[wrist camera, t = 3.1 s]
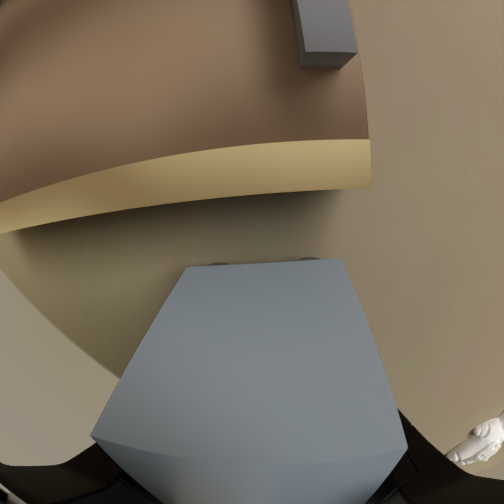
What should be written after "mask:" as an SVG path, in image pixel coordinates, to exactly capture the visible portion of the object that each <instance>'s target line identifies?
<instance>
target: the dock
mask: <svg viewBox="0 0 504 504" xmlns="http://www.w3.org/2000/svg"><path fill="white" fill-rule="evenodd" d="M363 188H371V151H370V140H369V136H368V122H367V110H366V100H365V90H364V82H363V74H362V67H361V60H360V54H359V48H358V42H357V37H356V31H355V26H354V21H353V17H352V12H351V8H350V3H349V0H0V234H1V233H5V232H9V231H14V230H18V229H22V228H27V227H32V226H36V225H41V224H46V223H51V222H56V221H61V220H67V219H72V218H77V217H83V216H89V215H95V214H100V213H107V212H113V211H119V210H126V209H132V208H139V207H146V206H154V205H161V204H169V203H177V202H185V201H194V200H202V199H212V198H222V197H232V196H243V195H254V194H267V193H280V192H296V191H313V190H334V189H363Z"/></svg>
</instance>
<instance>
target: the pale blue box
mask: <svg viewBox="0 0 504 504" xmlns="http://www.w3.org/2000/svg"><path fill="white" fill-rule="evenodd" d="M90 436H91V437H92V438H93V439H94V440H95V441H96V442H97V443H98V445H99V446H100V447H101V448H102V449H103V450H104V451H105V452H106V453H107V454H108V455H109V456H110V457H111V458H112V459H113V460H114V461H115V462H116V463H117V464H118V465H119V466H120V467H121V468H122V469H123V470H124V471H126V472H127V473H128V474H129V475H130V476H131V477H132V478H133V479H134V480H136V481H137V482H138V483H139V484H140V485H141V486H143V487H144V488H145V489H146V490H147V491H149V492H150V493H151V494H152V495H153V496H155V497H156V498H157V499H159V500H160V501H161V502H162V503H164V504H365V503H366V502H367V500H368V499H369V498H370V497H371V496H372V495H373V494H374V492H375V491H376V490H377V489H378V488H379V486H380V485H381V484H382V483H383V481H384V480H385V479H386V478H387V476H388V475H389V474H390V472H391V471H392V470H393V468H394V467H395V466H396V464H397V463H398V462H399V460H400V459H401V457H402V456H403V455H404V453H405V452H406V450H407V449H408V446H407V442H406V438H405V434H404V431H403V427H402V424H401V420H400V417H399V413H398V410H397V407H396V403H395V400H394V397H393V394H392V391H391V387H390V384H389V381H388V378H387V375H386V372H385V369H384V366H383V363H382V361H381V358H380V355H379V352H378V349H377V347H376V344H375V341H374V338H373V336H372V333H371V330H370V328H369V325H368V322H367V320H366V317H365V315H364V312H363V310H362V307H361V305H360V302H359V300H358V297H357V295H356V292H355V290H354V287H353V285H352V283H351V280H350V278H349V276H348V273H347V271H346V269H345V266H344V264H343V262H342V259H341V258H335V259H319V258H315V257H307V258H302V259H299V260H297V261H288V262H271V263H254V264H236V265H231V264H227V263H213V264H210V265H208V266H199V267H187V268H186V269H185V271H184V272H183V274H182V275H181V277H180V279H179V280H178V282H177V283H176V285H175V287H174V288H173V290H172V291H171V293H170V295H169V296H168V298H167V300H166V301H165V303H164V305H163V306H162V308H161V309H160V311H159V313H158V314H157V316H156V318H155V319H154V321H153V323H152V324H151V326H150V328H149V330H148V331H147V333H146V335H145V336H144V338H143V340H142V341H141V343H140V345H139V347H138V348H137V350H136V352H135V354H134V355H133V357H132V359H131V361H130V362H129V364H128V366H127V368H126V369H125V371H124V373H123V375H122V377H121V378H120V380H119V382H118V384H117V386H116V388H115V389H114V391H113V393H112V395H111V397H110V399H109V401H108V402H107V404H106V406H105V408H104V410H103V412H102V414H101V416H100V418H99V419H98V421H97V423H96V425H95V427H94V429H93V431H92V433H91V435H90Z"/></svg>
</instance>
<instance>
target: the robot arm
mask: <svg viewBox="0 0 504 504" xmlns="http://www.w3.org/2000/svg"><path fill="white" fill-rule="evenodd" d="M397 410H398V408H397ZM398 413H399V417H400V420H401V424H402V427H403V431H404V434H405V438H406V442H407V446H408V449H407V450H406V452H405V453H404V455H403V456H402V457H401V459H400V460H399V462H398V463H397V464H396V466H395V467H394V468H393V470H392V471H391V472H390V474H389V475H388V476H387V478H386V479H385V480H384V481H383V483H382V484H381V485H380V486H379V488H378V489H377V490H376V491H375V492H374V494H373V495H372V496H371V497H370V498H369V499H368V500H367V502H366V503H365V504H504V480H499V479H492V478H486V477H480V476H475V475H472V474H469V473H467V472H465V471H464V470H462V469H461V468H459V467H458V466H457V465H456V464H454V463H453V462H452V461H451V460H450V459H448V458H447V457H446V456H445V455H443V454H442V453H441V452H440V451H439V450H437V449H436V448H435V447H434V446H433V445H432V444H431V443H430V442H428V441H427V440H426V439H425V438H424V437H423V436H422V434H421V433H420V432H419V431H418V430H417V429H416V428H415V427H414V426H413V425H412V426H411V423H410V422H409V420H408V419H407V418H406V417H405V416H404V415H403V414H402V413H401V412H400V411H399V410H398ZM0 483H1V484H2V485H3V486H4V487H6V488H7V489H8V490H9V491H10V493H7V492H6V491H5V490H3V489H2V488H0V504H164V503H162V502H161V501H160V500H159V499H157V498H156V497H155V496H153V495H152V494H151V493H150V492H149V491H147V490H146V489H145V488H144V487H143V486H141V485H140V484H139V483H138V482H137V481H136V480H134V479H133V478H132V477H131V476H130V475H129V474H128V473H127V472H126V471H124V470H123V469H122V468H121V467H120V466H119V465H118V464H117V463H116V462H115V461H114V460H113V459H112V458H111V457H110V456H109V455H108V454H107V453H106V452H105V451H104V450H103V449H102V448H101V447H100V446H99V445H98V443H97V442H96V443H95V444H93V445H92V446H90V447H89V448H87V449H86V450H84V451H83V452H81V453H80V454H78V455H77V456H75V457H73V458H72V459H70V460H69V461H67V462H65V463H62V464H58V465H49V466H10V465H5V464H3V463H1V462H0Z"/></svg>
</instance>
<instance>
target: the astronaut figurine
mask: <svg viewBox="0 0 504 504" xmlns="http://www.w3.org/2000/svg"><path fill="white" fill-rule="evenodd" d="M473 432H474V435H473V436H471V437H470V438H469V439H467V440H466V441H464V442H463V443H461V444H460V445H458V446H457V447H455V448H454V449H453V450H451V451H450V452H449V453H447V458H448V459H450V460H451V461H454V462H456V463H457V465H465V464H466V463H467V464H471V463H473V462H475V461H483V462H485V461H487V460H488V458H489V457H490V456H492V455H493V454H495V453H496V452H497V451H498V450H499V448H500V447H501V443H502V442H503V441H504V412H503V413H502V414H501V415H500V416H499V417H497V418H494V419H491V420H488V421H486V422H484V423H482V424H480V425H478V426H477V427H475V428H474V430H473Z"/></svg>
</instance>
